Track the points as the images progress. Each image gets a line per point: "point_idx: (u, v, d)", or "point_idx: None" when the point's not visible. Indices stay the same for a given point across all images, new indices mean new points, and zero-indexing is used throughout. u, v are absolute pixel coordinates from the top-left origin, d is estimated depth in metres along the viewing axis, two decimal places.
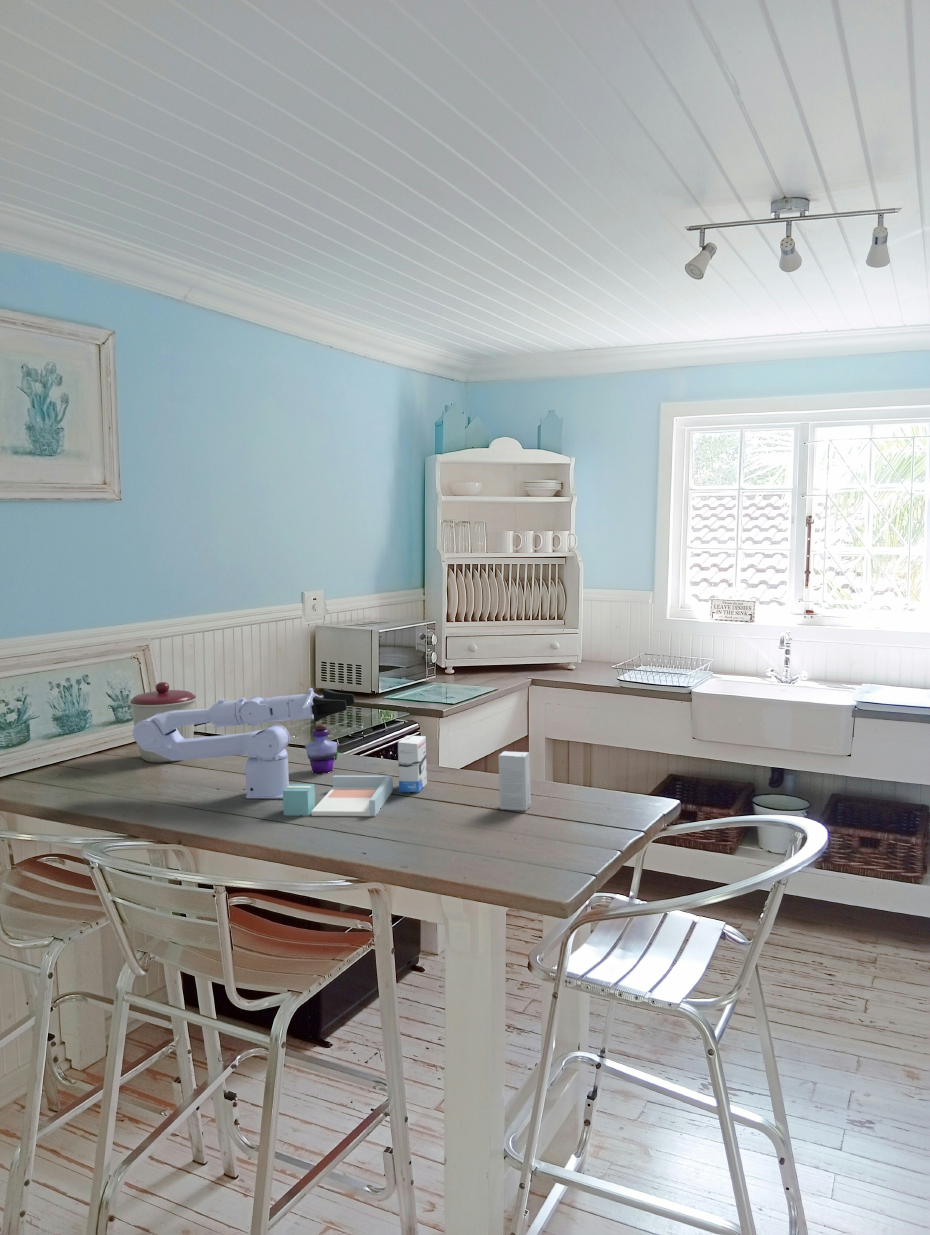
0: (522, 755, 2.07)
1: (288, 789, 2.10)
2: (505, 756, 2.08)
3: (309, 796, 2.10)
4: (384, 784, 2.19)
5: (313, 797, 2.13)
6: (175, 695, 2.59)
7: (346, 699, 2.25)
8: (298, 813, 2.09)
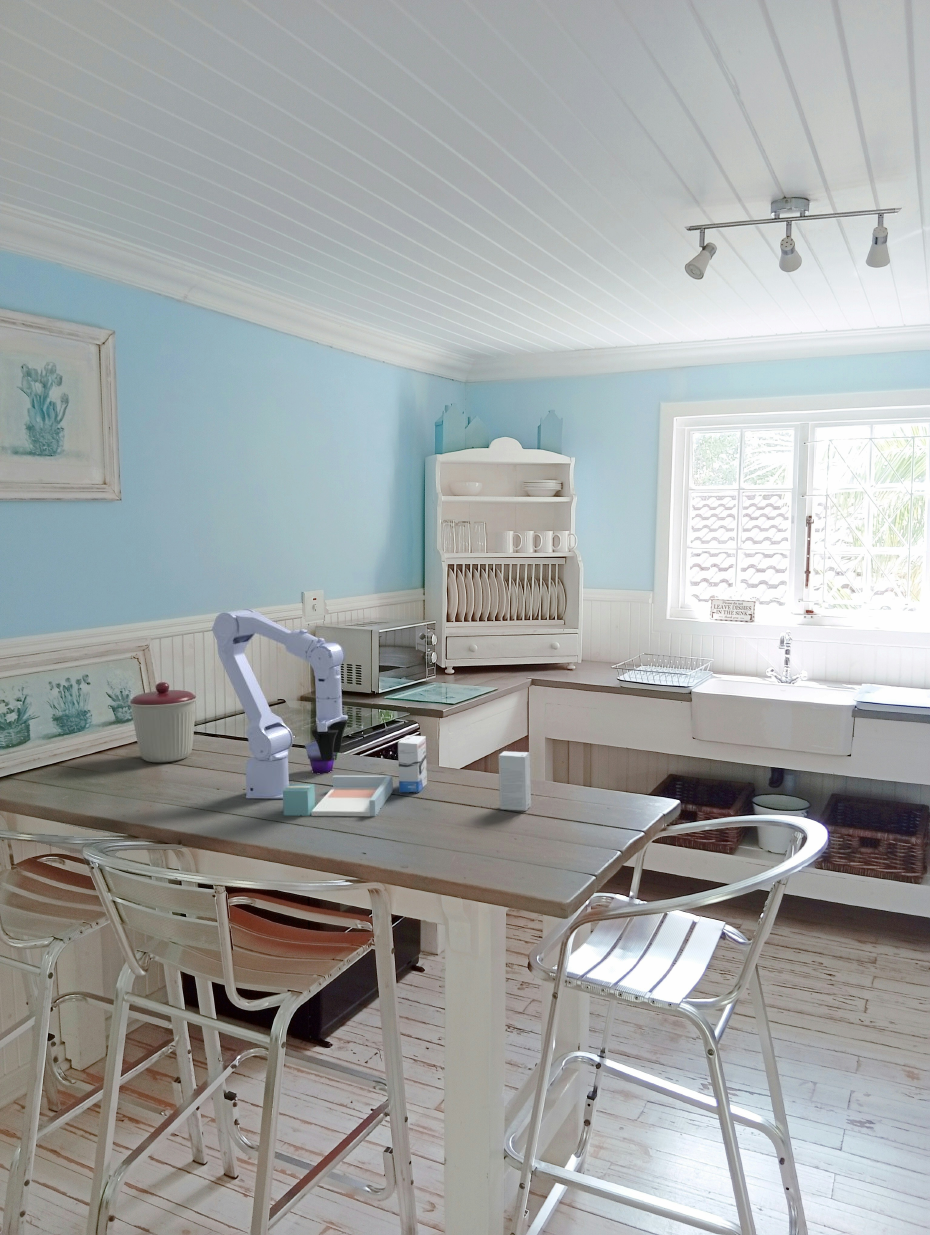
0: (522, 755, 2.07)
1: (288, 789, 2.10)
2: (505, 756, 2.08)
3: (309, 797, 2.10)
4: (384, 784, 2.19)
5: (313, 797, 2.13)
6: (175, 695, 2.59)
7: (335, 745, 2.21)
8: (298, 813, 2.09)
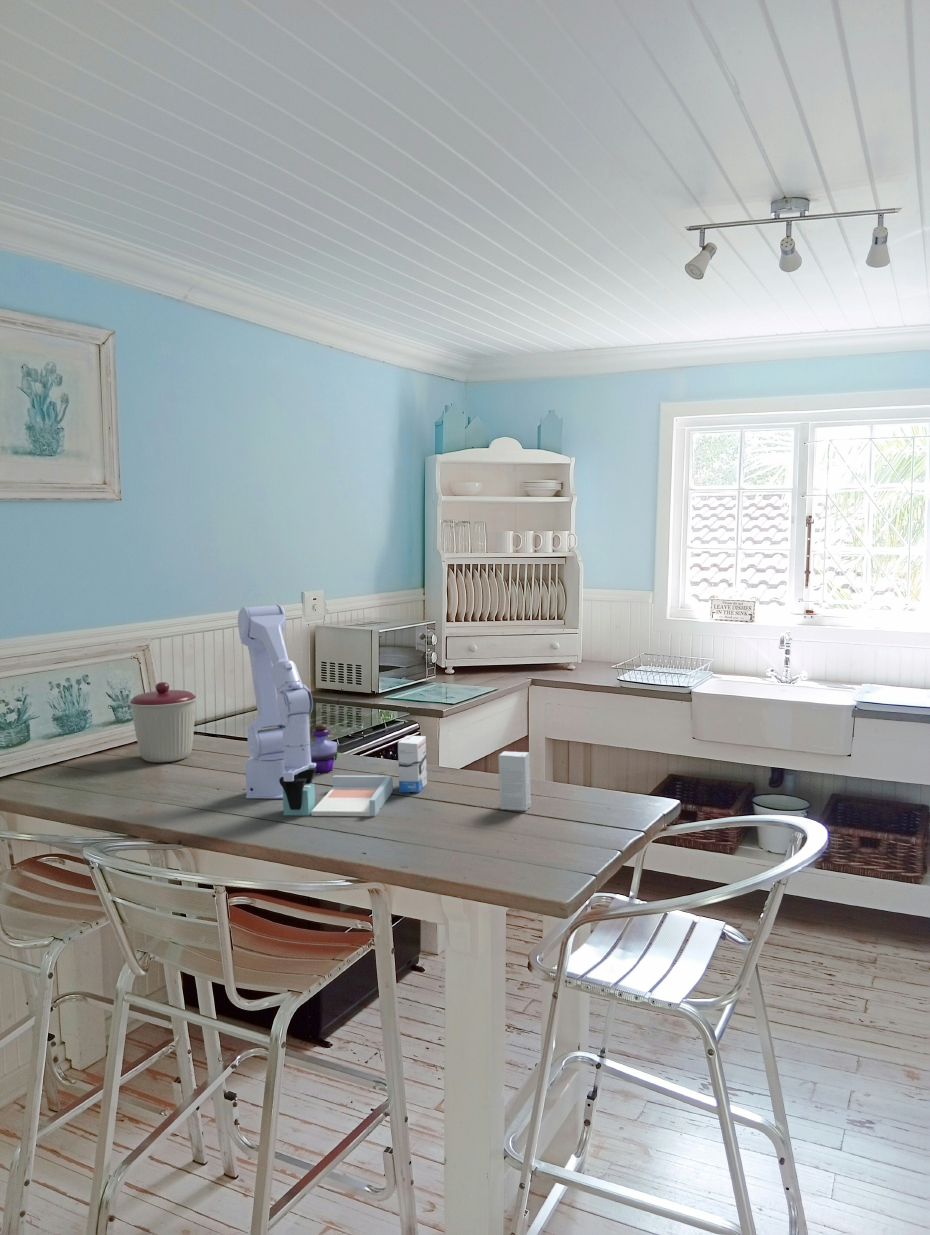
0: (522, 755, 2.07)
1: None
2: (505, 756, 2.08)
3: (309, 796, 2.10)
4: (384, 784, 2.19)
5: (313, 797, 2.13)
6: (175, 695, 2.59)
7: None
8: (298, 813, 2.09)
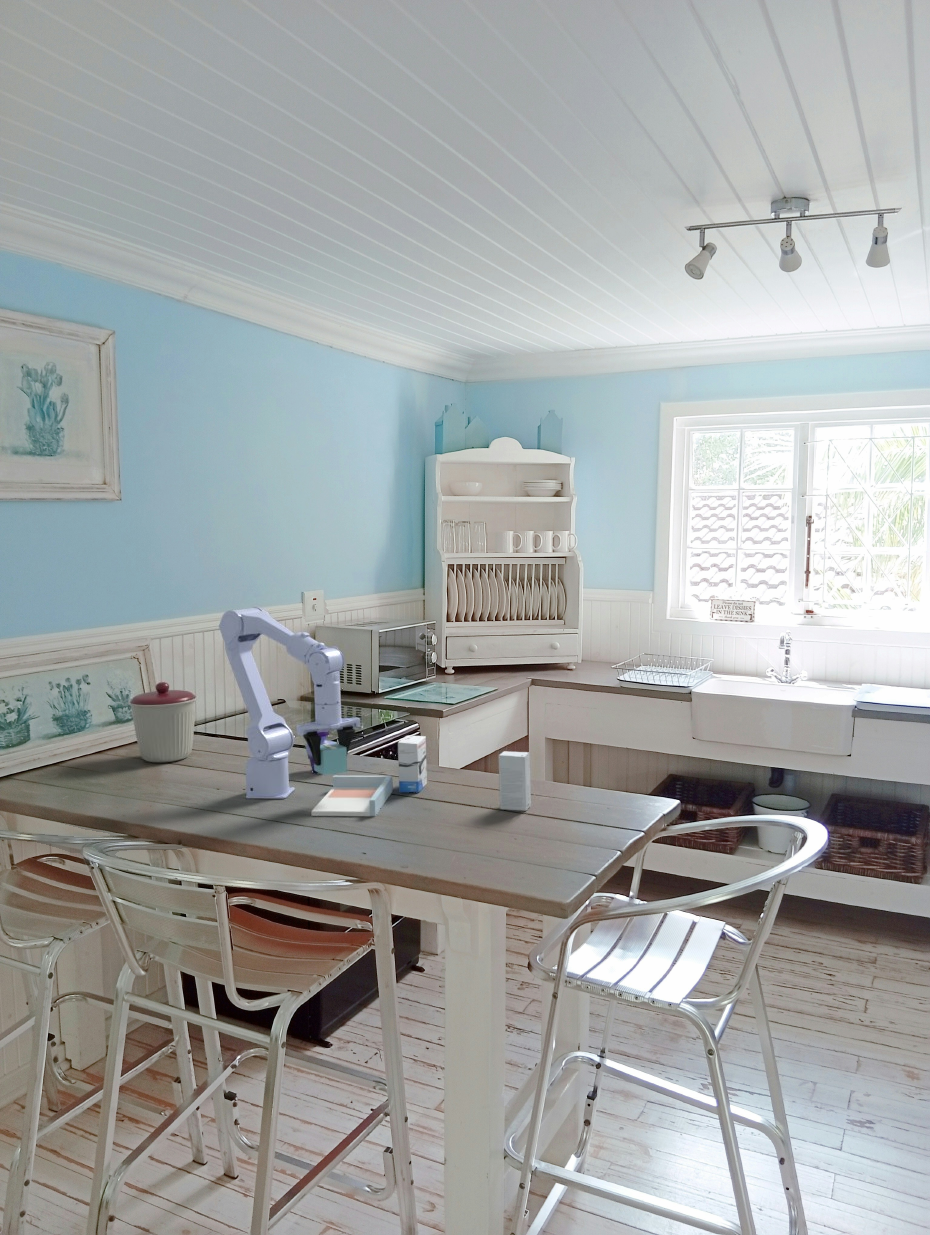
0: (522, 755, 2.07)
1: None
2: (505, 756, 2.08)
3: (330, 757, 2.13)
4: (384, 784, 2.19)
5: (342, 760, 2.14)
6: (175, 695, 2.59)
7: None
8: (320, 771, 2.14)
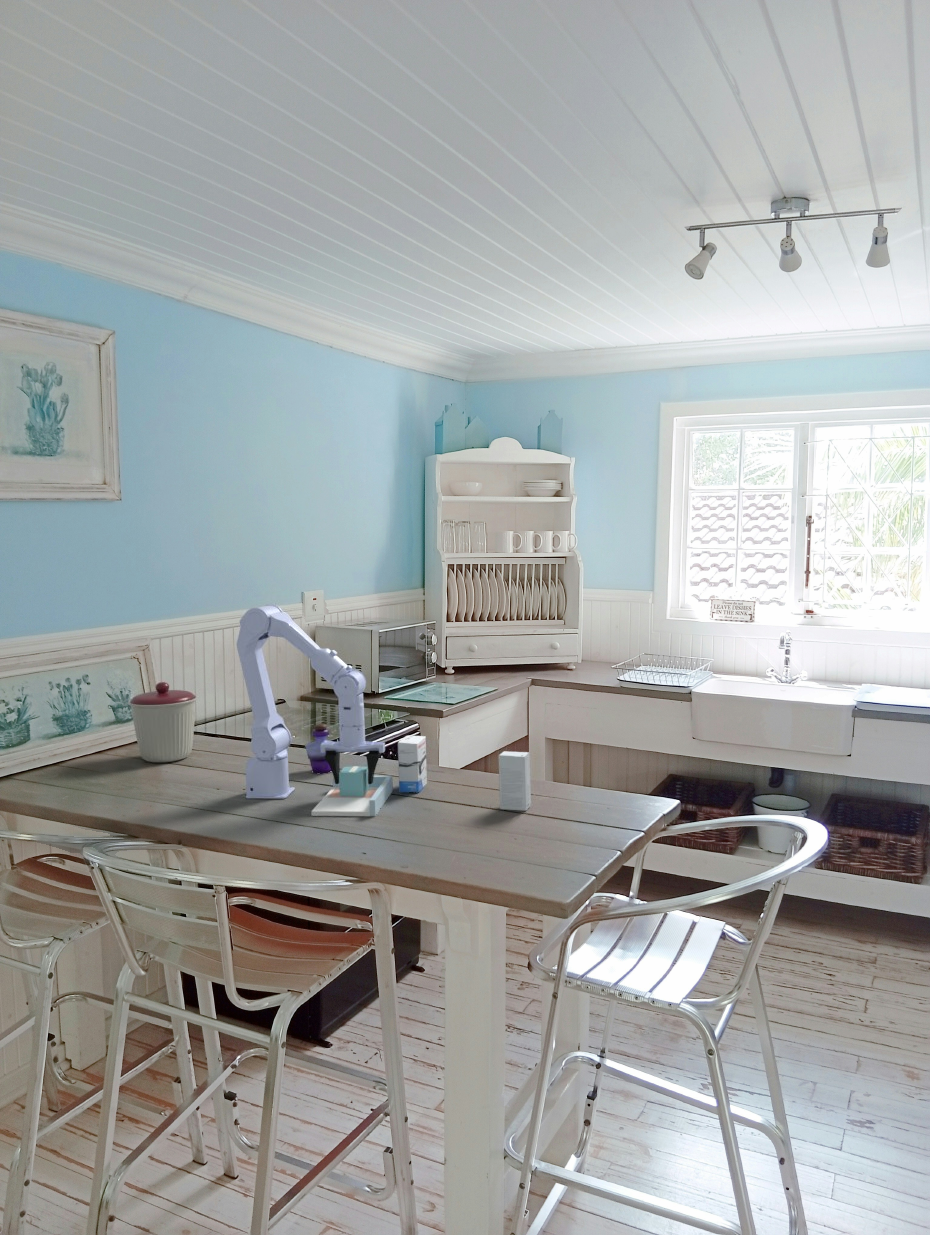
0: (522, 755, 2.07)
1: (348, 767, 2.23)
2: (505, 756, 2.08)
3: (346, 780, 2.18)
4: (384, 784, 2.19)
5: (358, 784, 2.18)
6: (175, 695, 2.59)
7: None
8: None
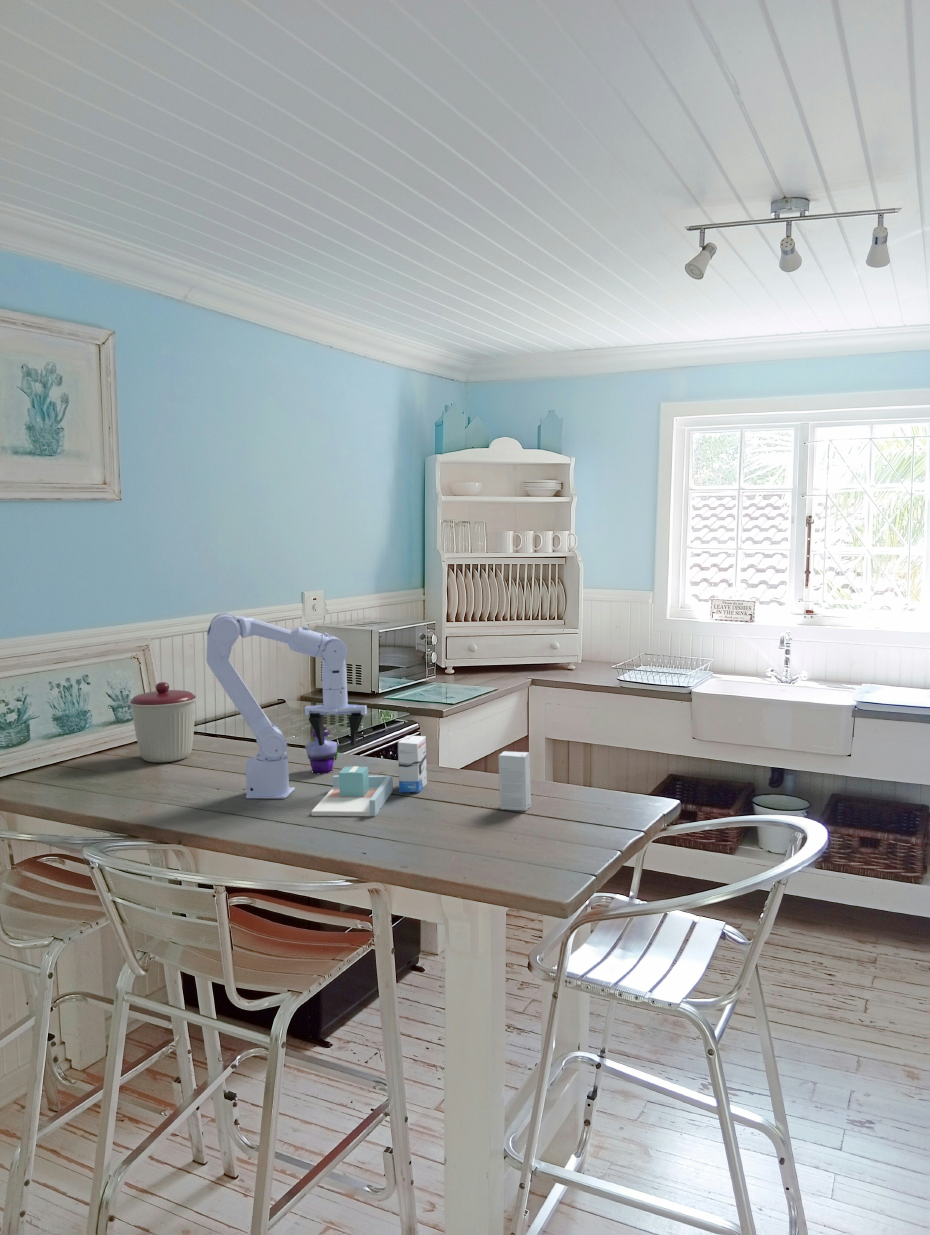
0: (522, 755, 2.07)
1: (348, 767, 2.23)
2: (505, 756, 2.08)
3: (346, 780, 2.18)
4: (384, 784, 2.19)
5: (358, 784, 2.18)
6: (175, 695, 2.59)
7: None
8: None
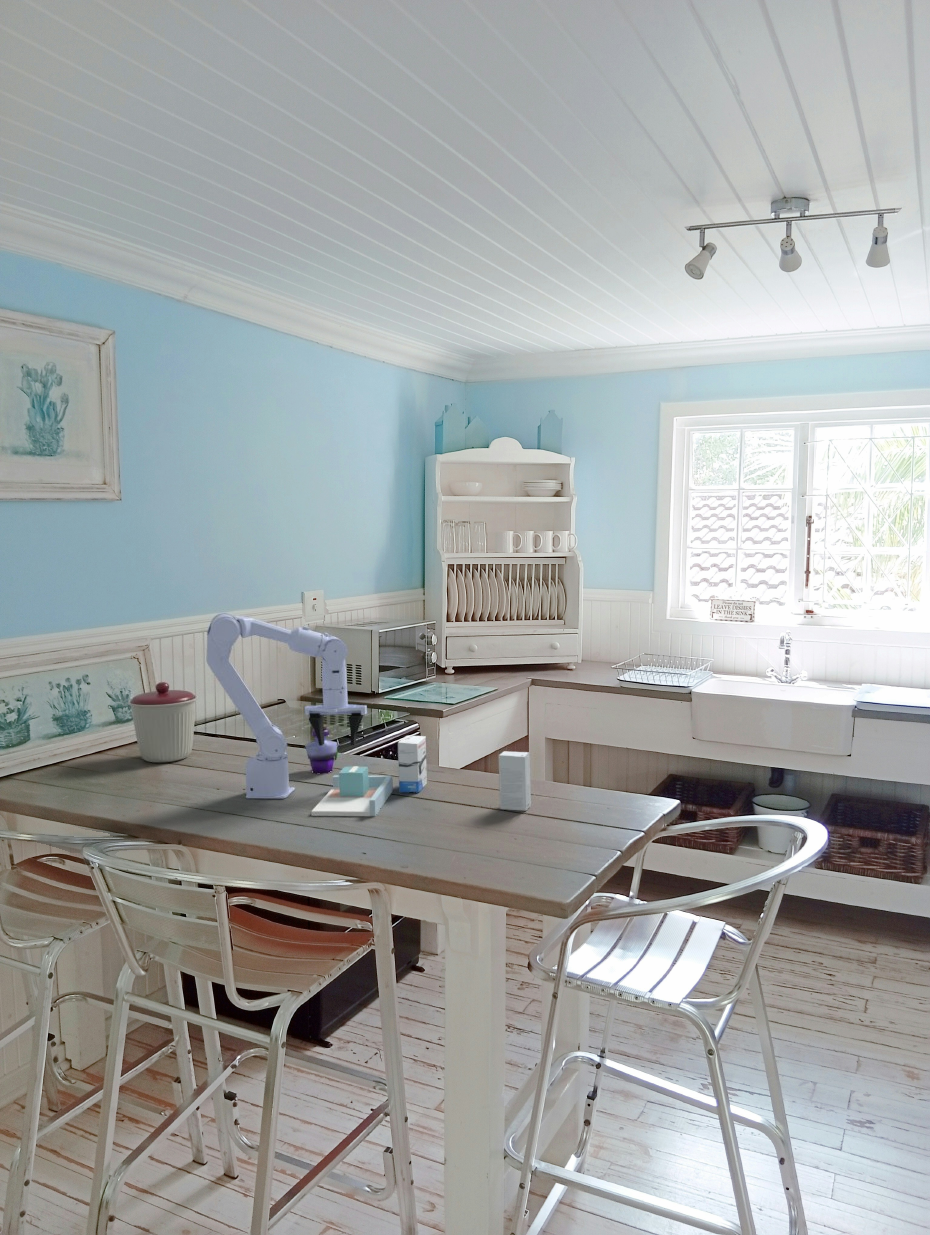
0: (522, 755, 2.07)
1: (348, 767, 2.23)
2: (505, 756, 2.08)
3: (346, 780, 2.18)
4: (384, 784, 2.19)
5: (358, 784, 2.18)
6: (175, 695, 2.59)
7: None
8: None
